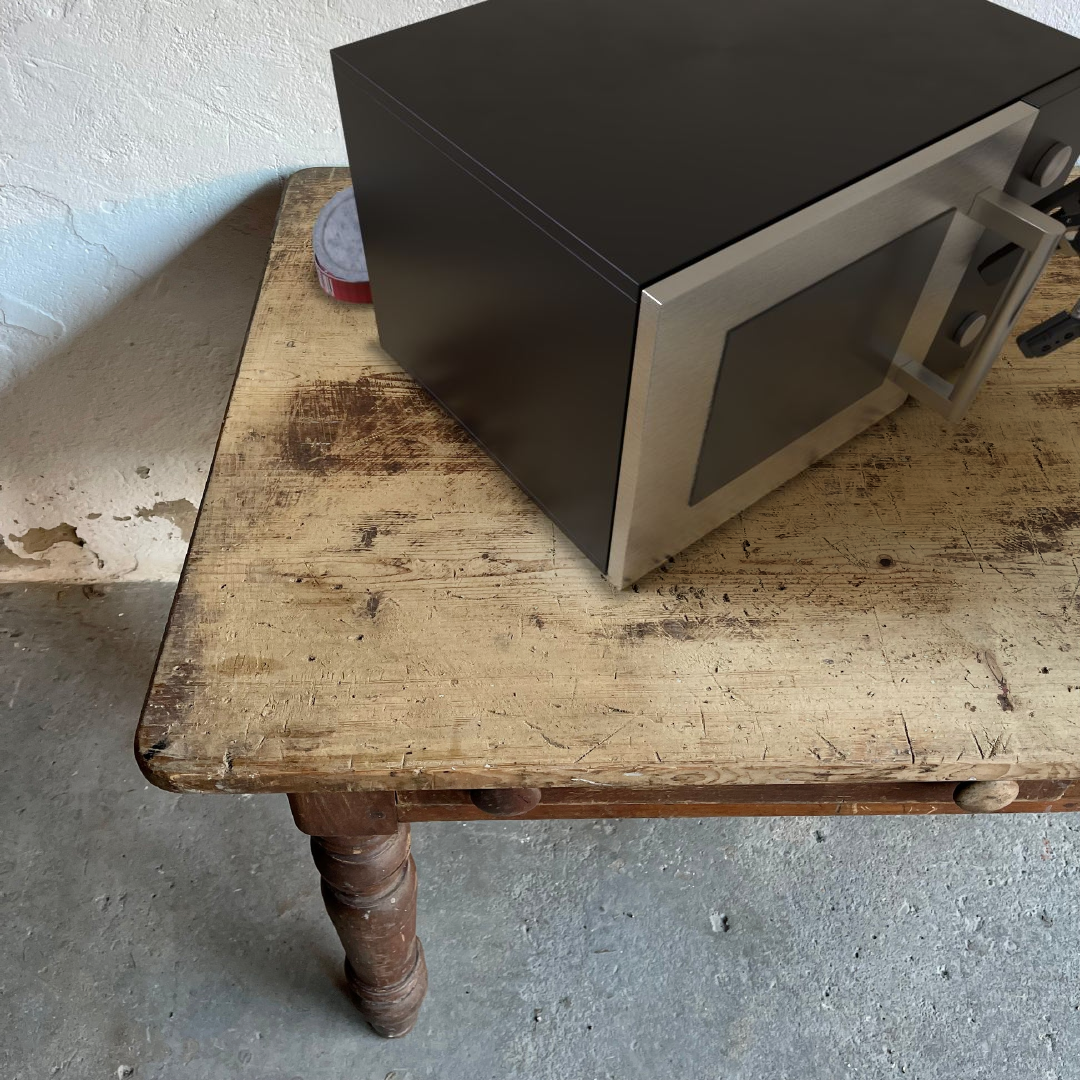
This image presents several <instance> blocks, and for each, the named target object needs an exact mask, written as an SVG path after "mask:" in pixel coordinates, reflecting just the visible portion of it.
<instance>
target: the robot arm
mask: <svg viewBox="0 0 1080 1080" xmlns="http://www.w3.org/2000/svg"><path fill="white" fill-rule="evenodd" d="M1031 207H1032V208H1034V209H1036V210H1038V211H1040V212H1042V213H1044V214H1046V213H1048V212H1050V214H1049V215H1048V216H1049V217H1051V218H1053V219H1055V220H1057V221H1059V222H1060V223H1062V224H1063V225H1064V226H1065V227H1066V232H1065V234H1064V236H1063V238H1062V239H1061V241H1060V243H1059V245H1058V247H1057V248H1056V250H1055V252H1054V254H1053V255H1060V254H1061V255H1064V256H1066V257H1078V258H1079V260H1080V176H1078V177H1076V178H1074V179H1072V181H1070V182H1068V183H1065V184H1064V186H1063V187H1061V188H1059V189H1058V190H1056V191H1054V192H1053V193H1051V194H1049V195H1048V196H1046V197H1044V198H1042V199H1041V200H1039V201H1037V202H1036V203H1034V204H1032V205H1031ZM1057 208H1059V209H1058V210H1056V211H1055V212H1052V211H1054V210H1055V209H1057ZM1051 212H1052V213H1051ZM1024 251H1025V249H1024V248H1023V247H1021V246H1019V245H1017V244H1015V243H1014V242H1010V243H1008V244H1007V245H1005V246H1004V247H1002V248H1001V249H999V250H997V251H996V252H994V253H992V254H991V255H989V256H988V257H987V258H986V259H985V260H984V261H983V263H981V264H980V265H979V266H978V268H977V270H978V272H979V274H980V276H981V277H982V279H983V280H984V282H985V283H986V284H987V286H994V285H996V284H998V283H999V282H1001V281H1003V280H1004V279H1006V278H1008V277H1009V276H1011V275H1012V274H1013V272H1014V270H1015V268H1016V266H1017V264H1018V262H1019V260H1020V258H1021V256H1022V254H1023V253H1024ZM1079 338H1080V297H1079V298H1078V300H1077V301H1076V302H1075V304H1074V305H1073V307H1072V308H1071V310H1070V313H1068V311H1067V310H1066V309H1064V310H1062V311H1060V312H1058V313H1057V314H1055V315H1052V317H1050V318H1048V319H1046V320H1044V321H1042V322H1041V323H1039V324H1037V325H1035V326H1034V327H1032V328H1030V329H1028V330H1026V331H1024V332H1023V333H1021V334H1018V336H1016V338H1015V344H1016V345H1017V347H1018V349H1019V351H1020V352H1021V353H1022V355H1023V356H1024V357H1025V359H1029V360H1031V359H1034V358H1035V359H1038V358H1039V359H1040V358H1044V357H1046V356H1048V355H1050V354H1051V353H1052V352H1055V351H1057V350H1058V349H1060V348H1062V347H1064V346H1066V345H1068V344H1071V343H1072V342H1074V341H1075V340H1077V339H1079Z"/></svg>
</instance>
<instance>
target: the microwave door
mask: <svg viewBox="0 0 1080 1080" xmlns="http://www.w3.org/2000/svg"><path fill="white" fill-rule="evenodd" d="M1038 113H1039V109H1037V108H1035V107H1032V106H1030V105H1028V104H1026V103H1024V102H1022V101H1018V102H1016V103H1014V104H1013V105H1011V106H1009V107H1007V108H1005V109H1003V110H1001V111H999V112H997V113H995V114H993V115H991V116H989V117H987V118H985V119H983V120H981V121H979V122H977V123H975V124H973V125H971V126H969V127H967V128H965V129H963V130H961V131H959V132H957V133H955V134H953V135H951V136H949V137H947V138H945V139H943V140H941V141H939V142H937V143H935V144H933V145H931V146H929V147H927V148H925V149H923V150H921V151H919V152H917V153H915V154H913V155H911V156H909V157H907V158H905V159H903V160H901V161H899V162H897V163H895V164H893V165H891V166H889V167H887V168H885V169H883V170H881V171H879V172H877V173H875V174H873V175H871V176H869V177H867V178H865V179H863V180H861V181H859V182H857V183H855V184H853V185H851V186H849V187H847V188H845V189H843V190H841V191H839V192H837V193H835V194H833V195H831V196H829V197H827V198H825V199H823V200H821V201H819V202H817V203H815V204H813V205H811V206H809V207H807V208H805V209H803V210H801V211H799V212H797V213H795V214H793V215H791V216H789V217H787V218H785V219H783V220H781V221H779V222H777V223H775V224H773V225H771V226H769V227H767V228H765V229H763V230H761V231H759V232H757V233H755V234H753V235H751V236H749V237H747V238H745V239H743V240H741V241H739V242H737V243H735V244H733V245H731V246H729V247H727V248H725V249H723V250H721V251H719V252H717V253H715V254H713V255H711V256H709V257H707V258H705V259H703V260H701V261H699V262H697V263H695V264H693V265H691V266H689V267H687V268H685V269H683V270H681V271H679V272H677V273H675V274H673V275H671V276H669V277H667V278H665V279H663V280H661V281H659V282H657V283H655V284H653V285H651V286H649V287H647V288H645V289H643V290H642V297H641V305H640V313H639V321H638V329H637V338H636V346H635V354H634V362H633V370H632V378H631V387H630V395H629V403H628V411H627V419H626V428H625V436H624V444H623V452H622V460H621V468H620V477H619V485H618V493H617V501H616V509H615V518H614V526H613V534H612V542H611V550H610V558H609V567H608V574H606V575H607V576H606V578H607V580H608V581H609V582H610V583H611V584H612V585H613V586H614V587H615V588H616V589H617V590H618V591H619V592H620V591H623V590H624V589H626V588H627V587H629V586H630V585H632V584H633V583H635V582H636V581H638V580H639V579H641V578H642V577H644V576H645V575H646V574H648V573H650V572H651V571H652V570H654V569H656V568H657V567H659V566H660V565H662V564H664V563H665V562H666V561H669V560H670V559H671V558H673V557H674V556H675V555H677V554H679V553H680V552H681V551H682V550H683V551H684V550H685V549H686V548H688V547H689V546H690V545H692V544H694V543H695V542H697V541H698V540H700V539H701V538H702V537H704V536H706V535H707V534H709V533H710V532H712V531H714V530H715V529H716V528H718V527H720V526H721V525H723V524H725V522H727V521H728V520H730V519H731V518H733V517H734V516H736V515H738V514H740V513H741V512H742V511H743V510H745V509H747V508H748V507H749V506H751V505H753V504H754V503H756V502H757V501H759V500H761V499H762V498H763V497H765V496H767V495H768V494H769V493H771V492H772V491H774V490H775V489H777V488H779V487H780V486H782V485H783V484H784V483H786V482H787V481H789V480H791V479H792V478H794V477H795V476H796V475H799V473H802V471H804V470H806V469H807V468H809V467H811V466H812V465H813V464H815V463H816V462H818V461H819V460H821V459H823V458H824V457H826V456H827V455H828V454H830V453H832V452H833V451H834V450H836V449H837V448H839V447H840V446H842V445H844V444H845V443H847V442H848V441H850V440H851V439H853V438H854V437H856V436H857V435H859V434H861V433H862V432H863V431H865V430H866V429H868V428H869V427H871V426H872V425H874V424H876V423H877V422H878V421H880V420H882V419H883V418H884V417H886V416H887V415H889V414H890V413H892V412H894V411H895V410H897V409H898V408H900V407H901V406H902V405H904V404H905V402H906V400H907V399H908V398H907V395H908V393H909V394H910V395H911V396H910V397H912V398H914V399H916V400H917V401H918V402H920V403H921V404H923V405H925V406H926V407H927V408H928V409H930V410H931V411H933V412H935V414H937V415H939V416H940V417H942V418H943V419H944V420H946V421H948V422H951V423H960V422H962V421H963V420H964V418H965V417H966V415H967V413H968V411H969V409H970V408H971V405H972V404H973V402H974V400H975V398H976V397H977V395H978V392H979V391H980V390H981V387H982V386H983V384H984V382H985V381H986V378H987V376H988V375H989V373H990V371H991V369H992V367H993V366H994V363H995V361H996V360H997V358H998V356H999V354H1000V352H1001V351H1002V349H1003V347H1004V345H1005V343H1006V342H1007V340H1008V338H1009V336H1010V335H1011V332H1012V330H1014V327H1015V325H1016V323H1017V321H1018V320H1019V318H1020V317H1021V314H1022V312H1023V310H1024V309H1025V307H1026V305H1027V303H1028V302H1029V300H1030V297H1031V296H1032V294H1033V293H1034V290H1035V289H1036V287H1037V285H1038V283H1039V282H1040V279H1041V278H1042V276H1043V274H1044V272H1045V270H1046V268H1047V267H1048V265H1049V263H1050V261H1051V260H1052V257H1053V256H1054V255H1055V254H1054V252H1055V250H1056V248H1057V247H1058V245H1059V243H1060V241H1061V239H1062V238H1063V236H1064V234H1065V232H1066V227H1065V226H1064V225H1063V224H1062V223H1060V222H1059V221H1057V220H1055V219H1053V218H1051V217H1049V215H1046V214H1044V213H1042V212H1040V211H1038V210H1036V209H1034V208H1032V207H1031V206H1029V205H1027V204H1025V203H1023V202H1021V201H1019V200H1017V199H1015V198H1014V197H1012V196H1010V195H1008V194H1006V193H1004V192H1002V190H1003V188H1004V186H1005V184H1006V182H1007V180H1008V177H1009V175H1010V173H1011V171H1012V169H1013V167H1014V165H1015V162H1016V160H1017V158H1018V156H1019V154H1020V152H1021V149H1022V147H1023V145H1024V143H1025V141H1026V139H1027V136H1028V134H1029V132H1030V130H1031V128H1032V126H1033V124H1034V121H1035V119H1036V117H1037V115H1038ZM985 227H987V228H988V229H990V230H992V231H994V232H996V233H997V234H999V235H1001V236H1003V237H1005V238H1006V239H1008V240H1010V241H1012V242H1014V243H1015V244H1017V245H1019V246H1021V247H1023V248H1024V249H1025V251H1024V253H1023V254H1022V256H1021V258H1020V260H1019V262H1018V264H1017V266H1016V268H1015V270H1014V272H1013V274H1012V276H1011V278H1010V280H1009V282H1008V284H1007V286H1006V287H1005V289H1004V291H1003V293H1002V295H1001V297H1000V299H999V301H998V303H997V305H996V307H995V309H994V311H993V313H992V315H991V317H990V319H989V320H988V322H987V324H986V326H985V328H984V330H983V332H982V334H981V336H980V338H979V340H978V342H977V344H976V346H975V348H974V350H973V352H972V353H971V355H970V357H969V358H968V359H967V360H966V364H965V365H964V367H963V369H962V371H961V373H960V375H959V376H958V379H957V381H956V382H955V385H953V384H951V383H950V382H948V381H947V380H945V379H944V378H942V376H941V377H939V376H938V375H936V374H935V373H933V372H932V371H930V370H929V369H927V368H926V367H924V366H923V365H922V363H923V361H924V359H925V357H926V354H927V352H928V350H929V348H930V346H931V344H932V342H933V339H934V337H935V335H936V333H937V331H938V329H939V326H940V324H941V322H942V320H943V318H944V316H945V313H946V311H947V309H948V307H949V305H950V303H951V300H952V298H953V296H954V294H955V292H956V290H957V288H958V285H959V283H960V281H961V279H962V277H963V275H964V272H965V270H966V268H967V266H968V264H969V262H970V259H971V257H972V255H973V253H974V251H975V249H976V247H977V244H978V242H979V240H980V238H981V236H982V234H983V231H984V229H985ZM906 398H907V399H906Z"/></svg>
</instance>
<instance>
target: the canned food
mask: <svg viewBox="0 0 1080 1080" xmlns="http://www.w3.org/2000/svg"><path fill="white" fill-rule="evenodd" d="M312 250H313V251H314V253H313V261H314V263H315V268H316V273H317V277H318V281H319V284H320V286H321V288H322V290H323V291H324V292H325V293H326V294H328V295H329V296H330V297H332V298H334V299H336V300H339V301H342V302H346V303H351V304H371V303H372V304H373V301H372V295H371V289H370V283H369V278H368V272H367V266H366V260H365V254H364V249H363V243H362V237H361V231H360V226H359V220H358V214H357V208H356V202H355V197H354V191H353V185H352V184H351V185H350V186H348V187H346V188H344V189H341V190H340V191H339V192H338V191H337V192H336V193H334V195H333V196H332V197H331V198H330V199H329V201H328V202H326V204H325V205H324V206H323V207H322V208H321V209H320V210H319V213H318V215H317V218H316V220H315V223H314V225H313V227H312Z"/></svg>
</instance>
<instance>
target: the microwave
mask: <svg viewBox="0 0 1080 1080" xmlns="http://www.w3.org/2000/svg"><path fill="white" fill-rule="evenodd" d="M329 56H330V60H331V68H332V69H331V70H332V74H333V75H332V76H333V80H334V86H335V91H336V98H337V105H338V109H339V116H340V121H341V127H342V132H343V133H342V134H343V138H344V144H345V150H346V156H347V162H348V166H349V173H350V178H351V183H352V184H351V185H353V191H354V197H355V202H356V208H357V214H358V220H359V226H360V231H361V237H362V243H363V249H364V254H365V260H366V266H367V272H368V278H369V283H370V289H371V295H372V301H373V302H372V306H373V312H374V317H375V323H376V329H377V334H378V335H377V336H378V340H379V346H380V347H381V349H382V350H383V351H384V352H385V353H386V354H387V355H388V356H389V357H390V359H392V360H393V361H394V362H395V363H396V364H397V365H398V366H399V367H400V368H401V369H402V371H404V372H405V373H406V374H407V375H408V376H409V377H410V378H411V379H412V380H413V381H414V382H415V383H416V384H417V386H418V387H420V388H421V390H422V391H424V393H425V394H426V395H427V396H429V398H430V399H431V400H432V401H433V402H434V403H435V404H436V405H437V406H438V407H439V408H440V409H441V410H442V411H443V412H444V413H445V414H446V415H447V416H448V417H449V418H450V419H451V420H452V421H453V422H454V423H455V424H456V425H457V426H458V427H459V428H460V430H461V431H462V432H464V433H465V434H466V435H467V436H468V438H469V439H470V440H471V441H472V442H473V443H474V444H475V445H476V446H477V447H478V448H479V449H480V450H481V451H482V452H483V453H484V454H485V455H486V456H487V457H488V459H490V460H491V462H493V463H494V464H495V465H496V466H497V467H498V469H500V470H501V471H502V472H503V473H504V474H505V475H506V476H507V478H509V479H510V481H511V482H512V483H513V484H515V485H516V486H517V488H519V490H520V492H522V493H523V494H524V495H525V496H526V497H527V498H528V499H529V500H530V501H531V502H532V503H533V504H534V505H535V506H536V507H537V508H538V510H540V511H541V512H542V514H544V515H545V516H546V517H547V518H548V519H549V520H550V521H551V523H552V524H553V525H554V526H556V528H557V529H558V530H559V531H560V532H561V533H562V534H563V535H564V536H565V537H566V538H567V539H568V540H569V541H570V542H571V543H572V544H573V545H574V546H575V547H576V548H577V549H578V550H579V551H580V552H581V553H582V554H583V555H584V557H586V558H587V559H588V560H589V561H590V562H591V563H592V565H594V566H595V567H596V569H598V570H599V572H601V574H602V575H603V576H606V575H608V567H609V558H610V550H611V542H612V534H613V526H614V518H615V509H616V501H617V493H618V485H619V477H620V468H621V460H622V452H623V444H624V436H625V428H626V419H627V411H628V403H629V395H630V387H631V378H632V370H633V362H634V354H635V346H636V338H637V329H638V321H639V313H640V305H641V297H642V290H643V289H645V288H647V287H649V286H651V285H653V284H655V283H657V282H659V281H661V280H663V279H665V278H667V277H669V276H671V275H673V274H675V273H677V272H679V271H681V270H683V269H685V268H687V267H689V266H691V265H693V264H695V263H697V262H699V261H701V260H703V259H705V258H707V257H709V256H711V255H713V254H715V253H717V252H719V251H721V250H723V249H725V248H727V247H729V246H731V245H733V244H735V243H737V242H739V241H741V240H743V239H745V238H747V237H749V236H751V235H753V234H755V233H757V232H759V231H761V230H763V229H765V228H767V227H769V226H771V225H773V224H775V223H777V222H779V221H781V220H783V219H785V218H787V217H789V216H791V215H793V214H795V213H797V212H799V211H801V210H803V209H805V208H807V207H809V206H811V205H813V204H815V203H817V202H819V201H821V200H823V199H825V198H827V197H829V196H831V195H833V194H835V193H837V192H839V191H841V190H843V189H845V188H847V187H849V186H851V185H853V184H855V183H857V182H859V181H861V180H863V179H865V178H867V177H869V176H871V175H873V174H875V173H877V172H879V171H881V170H883V169H885V168H887V167H889V166H891V165H893V164H895V163H897V162H899V161H901V160H903V159H905V158H907V157H909V156H911V155H913V154H915V153H917V152H919V151H921V150H923V149H925V148H927V147H929V146H931V145H933V144H935V143H937V142H939V141H941V140H943V139H945V138H947V137H949V136H951V135H953V134H955V133H957V132H959V131H961V130H963V129H965V128H967V127H969V126H971V125H973V124H975V123H977V122H979V121H981V120H983V119H985V118H987V117H989V116H991V115H993V114H995V113H997V112H999V111H1001V110H1003V109H1005V108H1007V107H1009V106H1011V105H1013V104H1014V103H1016V102H1018V101H1022V102H1024V103H1026V104H1028V105H1030V106H1032V107H1035V108H1037V109H1039V113H1038V115H1037V117H1036V119H1035V121H1034V124H1033V126H1032V128H1031V130H1030V132H1029V134H1028V136H1027V139H1026V141H1025V143H1024V145H1023V147H1022V149H1021V152H1020V154H1019V156H1018V158H1017V160H1016V162H1015V165H1014V167H1013V169H1012V171H1011V173H1010V175H1009V177H1008V180H1007V182H1006V184H1005V186H1004V188H1003V190H1002V192H1004V193H1006V194H1008V195H1010V196H1012V197H1014V198H1015V199H1017V200H1019V201H1021V202H1023V203H1025V204H1027V205H1029V206H1031V205H1032V204H1034V203H1036V202H1037V201H1039V200H1041V199H1042V198H1044V197H1046V196H1048V195H1049V194H1051V193H1053V192H1054V191H1056V190H1058V189H1059V188H1061V187H1063V186H1065V185H1066V182H1067V181H1068V179H1069V177H1070V175H1071V173H1072V171H1073V170H1074V167H1075V165H1076V163H1077V161H1078V160H1079V157H1080V37H1077V36H1075V35H1072V34H1070V33H1067V32H1065V31H1063V30H1060V29H1058V28H1055V27H1053V26H1051V25H1047V24H1046V23H1043V22H1041V21H1039V20H1036V19H1034V18H1032V17H1029V16H1026V15H1024V14H1022V13H1019V12H1017V11H1014V10H1012V9H1009V8H1007V7H1005V6H1002V5H1000V4H997V3H996V2H992V1H990V0H484V1H483V0H482V1H480V2H477V3H473V4H471V5H466V6H464V7H460V8H457V9H455V10H451V11H448V12H445V13H442V14H439V15H435V16H432V17H429V18H427V19H423V20H420V21H419V20H418V21H417V22H413V23H409V24H407V25H404V26H400V27H396V28H394V29H390V30H388V31H387V30H386V31H384V32H381V33H378V34H375V35H371V36H369V37H365V38H362V39H359V40H358V39H357V40H355V41H352V42H349V43H346V44H342V45H339V46H337V47H333V48H330V49H329ZM1050 214H1051V211H1050V212H1048V213H1046V215H1048V216H1049V215H1050ZM1010 242H1012V241H1010V240H1008V239H1006V238H1005V237H1003V236H1001V235H999V234H997V233H996V232H994V231H992V230H990V229H988V228H987V227H985V229H984V231H983V234H982V236H981V238H980V240H979V242H978V244H977V247H976V249H975V251H974V253H973V255H972V257H971V259H970V262H969V264H968V266H967V268H966V270H965V272H964V275H963V277H962V279H961V281H960V283H959V285H958V288H957V290H956V292H955V294H954V296H953V298H952V300H951V303H950V305H949V307H948V309H947V311H946V313H945V316H944V318H943V320H942V322H941V324H940V326H939V329H938V331H937V333H936V335H935V337H934V339H933V342H932V344H931V346H930V348H929V350H928V352H927V354H926V357H925V359H924V361H923V363H922V365H923V366H924V367H926V368H927V369H929V370H930V371H932V372H933V373H935V374H936V375H938V376H939V377H941V378H942V376H944V375H946V373H948V372H950V371H951V370H953V369H955V368H956V367H958V366H959V365H961V364H962V363H964V362H965V361H967V360H968V359H969V357H970V355H971V353H972V352H973V350H974V348H975V346H976V344H977V342H978V340H979V338H980V336H981V334H982V332H983V330H984V328H985V326H986V324H987V322H988V320H989V319H990V317H991V315H992V313H993V311H994V309H995V307H996V305H997V303H998V301H999V299H1000V297H1001V295H1002V293H1003V291H1004V289H1005V287H1006V286H1007V284H1008V282H1009V280H1010V278H1011V276H1012V275H1011V276H1009V277H1008V278H1006V279H1004V280H1003V281H1001V282H999V283H998V284H996V285H994V286H987V284H986V283H985V282H984V280H983V279H982V277H981V276H980V274H979V272H978V270H977V268H978V266H979V265H980V264H981V263H983V261H984V260H985V259H986V258H987V257H988V256H989V255H991V254H992V253H994V252H996V251H997V250H999V249H1001V248H1002V247H1004V246H1005V245H1007V244H1008V243H1010ZM910 397H912V396H911V395H910V394H909V393H908V395H907V398H906V400H907V399H909V398H910Z"/></svg>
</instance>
